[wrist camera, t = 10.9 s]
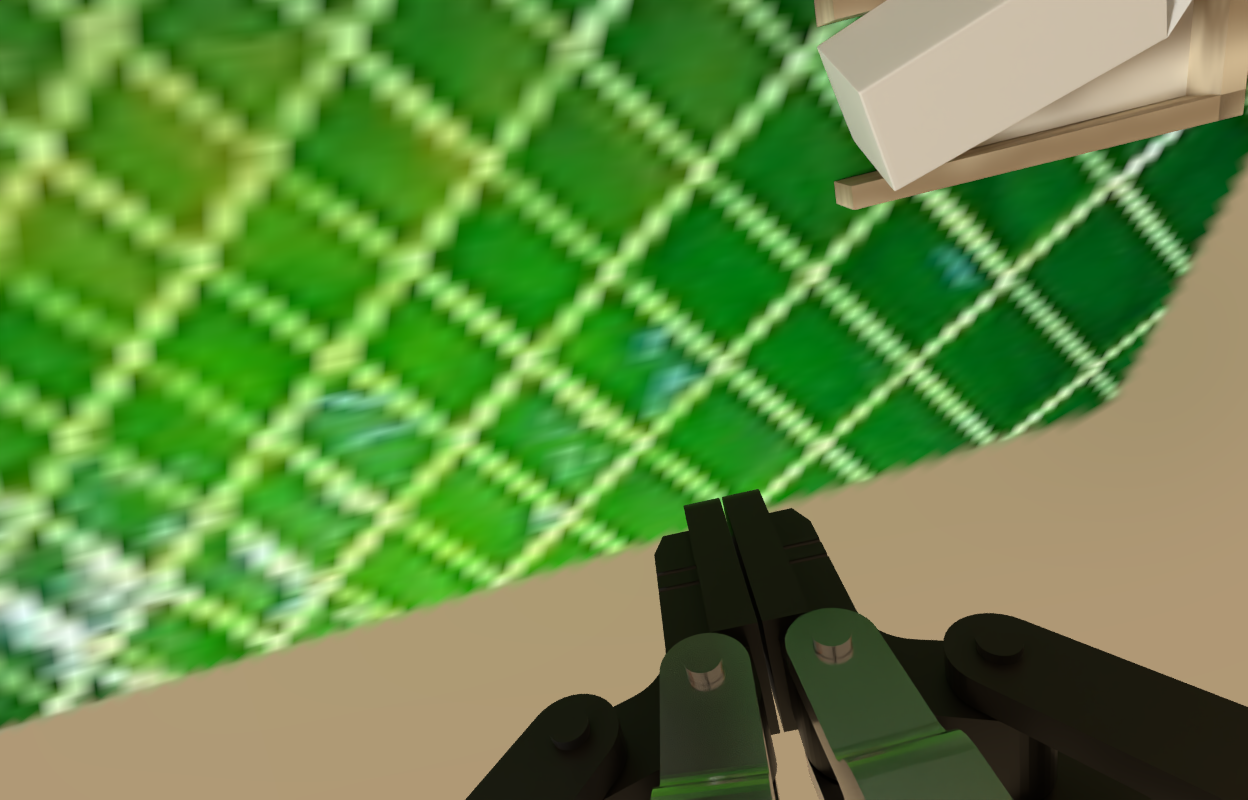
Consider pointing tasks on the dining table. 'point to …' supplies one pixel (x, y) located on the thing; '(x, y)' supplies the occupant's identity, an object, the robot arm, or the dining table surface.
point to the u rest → (1095, 102)
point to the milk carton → (973, 69)
